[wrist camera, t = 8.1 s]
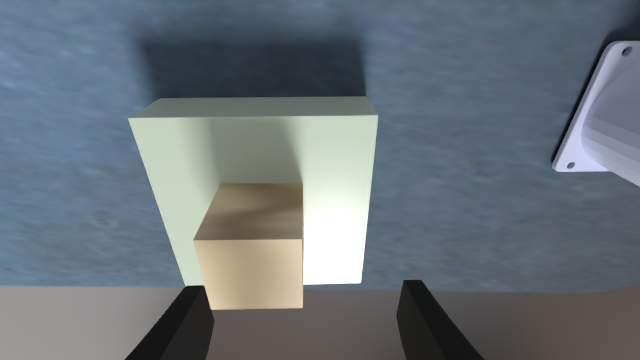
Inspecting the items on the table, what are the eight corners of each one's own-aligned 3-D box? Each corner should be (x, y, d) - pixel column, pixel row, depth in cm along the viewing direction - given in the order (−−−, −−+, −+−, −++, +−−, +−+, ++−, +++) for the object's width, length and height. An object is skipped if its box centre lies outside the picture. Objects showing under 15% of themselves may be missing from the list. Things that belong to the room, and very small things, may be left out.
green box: (364, 94, 18) (378, 115, 14) (353, 243, 24) (360, 282, 21) (163, 96, 17) (128, 118, 14) (203, 246, 24) (186, 287, 20)
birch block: (303, 183, 16) (301, 239, 12) (303, 244, 19) (302, 307, 15) (220, 183, 16) (192, 240, 12) (231, 245, 18) (210, 309, 14)
